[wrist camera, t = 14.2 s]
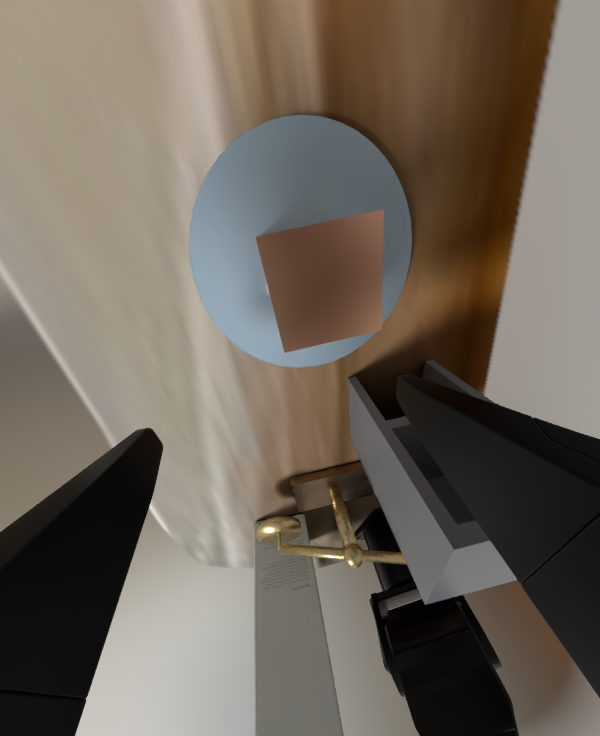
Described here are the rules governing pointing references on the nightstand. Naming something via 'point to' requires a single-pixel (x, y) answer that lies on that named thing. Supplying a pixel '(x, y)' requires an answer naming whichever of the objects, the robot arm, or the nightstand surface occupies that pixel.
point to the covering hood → (434, 529)
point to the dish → (289, 223)
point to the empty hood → (395, 424)
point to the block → (325, 279)
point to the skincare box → (291, 646)
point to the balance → (334, 491)
